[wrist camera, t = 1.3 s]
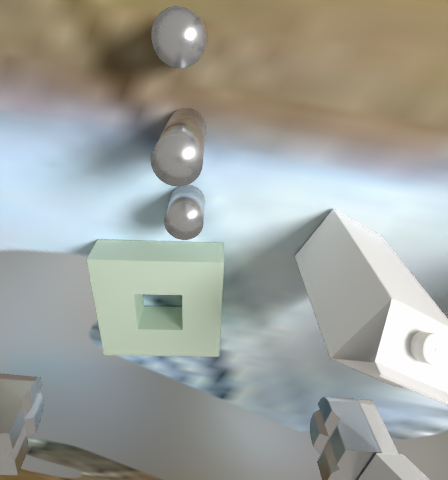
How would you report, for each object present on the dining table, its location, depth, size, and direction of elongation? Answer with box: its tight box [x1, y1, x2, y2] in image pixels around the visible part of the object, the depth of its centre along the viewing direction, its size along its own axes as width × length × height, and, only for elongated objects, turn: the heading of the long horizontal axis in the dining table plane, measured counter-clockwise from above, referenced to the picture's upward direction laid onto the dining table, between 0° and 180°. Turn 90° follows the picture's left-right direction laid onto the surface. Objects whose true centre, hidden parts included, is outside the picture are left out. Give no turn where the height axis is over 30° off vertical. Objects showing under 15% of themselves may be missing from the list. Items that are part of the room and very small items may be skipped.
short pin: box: [164, 185, 205, 240], centre depth 35 cm, size 4×4×5 cm
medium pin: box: [151, 6, 208, 68], centre depth 27 cm, size 4×4×7 cm
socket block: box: [87, 239, 224, 357], centre depth 42 cm, size 14×14×4 cm
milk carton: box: [295, 209, 448, 405], centre depth 32 cm, size 7×7×19 cm
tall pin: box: [151, 108, 206, 186], centre depth 29 cm, size 4×4×10 cm
